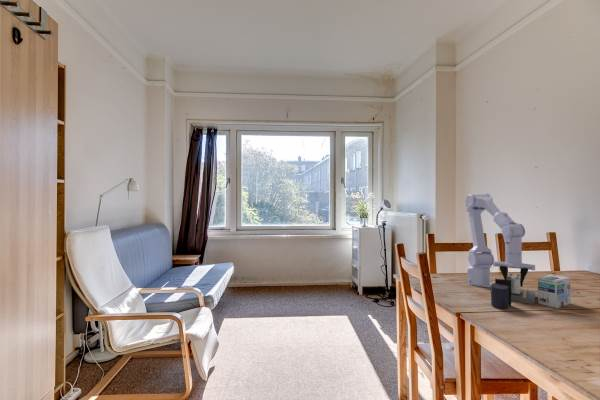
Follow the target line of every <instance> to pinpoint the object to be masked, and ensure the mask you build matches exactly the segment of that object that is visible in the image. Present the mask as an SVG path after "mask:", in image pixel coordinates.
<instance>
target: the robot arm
mask: <svg viewBox="0 0 600 400" xmlns="http://www.w3.org/2000/svg"><path fill="white" fill-rule="evenodd" d="M464 201H465V206H466V211H467V214H468V220H469V228H470V233H471V234H470V235H471V239H472V246H473V247H472V248H471V249H469V250H468V258H467V259H468V263H469V264H470V265H469V266H468V265H467V273H466V274H467V286H476V287H481V288H482V287H484V288H491V285H492V284H493V283H491V268H492V266H493V267H494V268H496V267H499V270H500V272H501V275H502V276H503V279H504V280H506V277H507V275H508V268H509V269H510V268H511V269H520V275H521V281H520V284H521V288H523V285H524V280H525V279H526V276H527V274H528V272H529V270H530V271H536V264H528V263H524V262H523V252H522V251H523V250H522V247H523V246H522V245H523V243H522V241H523V240H522V238H524V237H525V234H526V229H525V226H524V225H523V224H521V223H518V222H516V221H514V220H513V219H512V218H511V217H510V216H509V214H508V212H505V211H504V212H503V211H501V210H500V209H499V208H498V207H497V205H496V204H495V203H494V202H493V201H494V200H493V196H491V195H490V194H489V193H473V194H472V193H469V194H467V196H466V198H465V200H464ZM485 211H487V212H488V213H489V214H490V215H491V216H492V217H493V222H494V223H495V224H496V225H497V226H498V227H499V228H500V229H501V230H500V231H501V235H502V237H503V241H504V245H505V246H504V247H505V248H504V249H505V253H504V254H505V255H504V256H505V257H504V258H505V259H504V261H495V257H494V255H493V253H492V249H491V248H490V247H488V246H486V239H485V233H484V228H483V222H482V221H483V220H482V216H481V215H482V213H483V212H485Z"/></svg>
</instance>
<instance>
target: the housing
mask: <svg viewBox="0 0 600 400" xmlns="http://www.w3.org/2000/svg"><path fill="white" fill-rule="evenodd" d="M506 280H511V293H515V294H520V293H521V289H522V287H521V284H520V281H521V274H514V273H507V277H506Z"/></svg>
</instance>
